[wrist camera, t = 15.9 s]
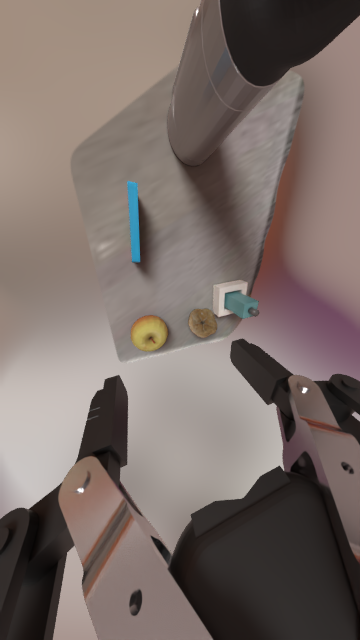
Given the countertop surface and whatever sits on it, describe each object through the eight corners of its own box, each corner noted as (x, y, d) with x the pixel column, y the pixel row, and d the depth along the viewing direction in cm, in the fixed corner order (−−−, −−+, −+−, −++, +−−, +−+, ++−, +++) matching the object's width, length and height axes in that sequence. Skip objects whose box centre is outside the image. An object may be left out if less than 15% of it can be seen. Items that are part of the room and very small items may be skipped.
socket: (213, 285, 42) (219, 288, 39) (239, 279, 44) (247, 282, 41) (212, 312, 46) (218, 317, 44) (236, 306, 48) (243, 310, 45)
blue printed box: (138, 259, 33) (140, 263, 28) (131, 259, 33) (132, 262, 28) (135, 193, 28) (137, 182, 23) (127, 191, 27) (127, 179, 22)
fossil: (221, 332, 44) (194, 340, 39) (212, 335, 48) (187, 342, 43) (212, 305, 45) (185, 310, 41) (204, 310, 49) (179, 314, 45)
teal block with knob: (220, 291, 44) (250, 307, 33) (231, 288, 45) (265, 304, 34) (219, 303, 46) (248, 322, 35) (230, 300, 47) (261, 318, 36)
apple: (164, 338, 46) (170, 354, 39) (132, 342, 43) (133, 361, 36) (164, 309, 41) (171, 322, 34) (128, 312, 38) (128, 327, 32)
